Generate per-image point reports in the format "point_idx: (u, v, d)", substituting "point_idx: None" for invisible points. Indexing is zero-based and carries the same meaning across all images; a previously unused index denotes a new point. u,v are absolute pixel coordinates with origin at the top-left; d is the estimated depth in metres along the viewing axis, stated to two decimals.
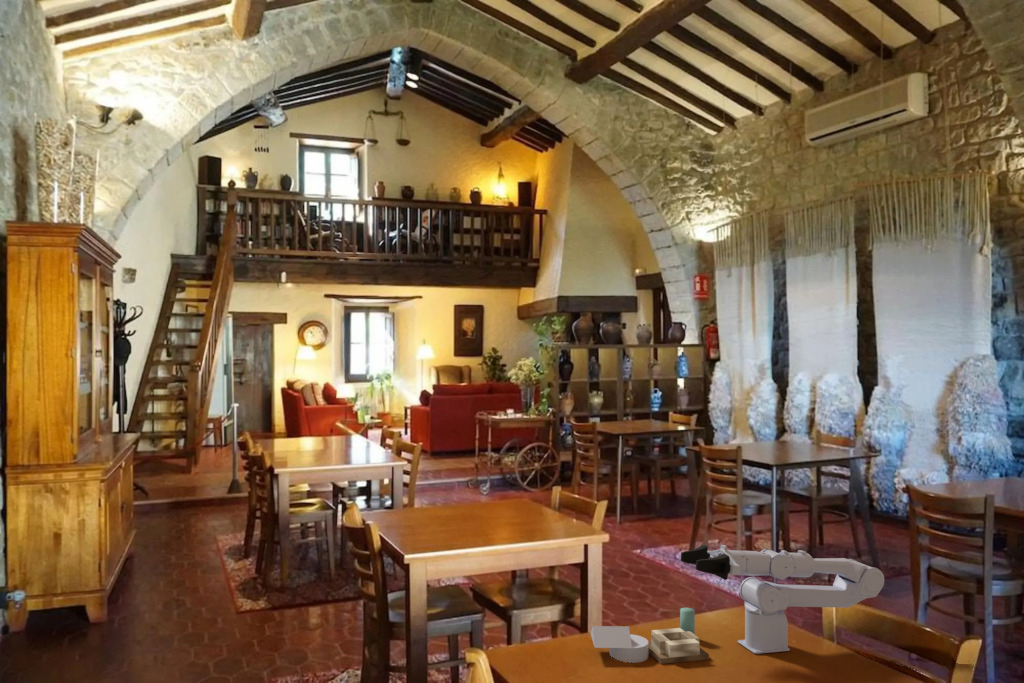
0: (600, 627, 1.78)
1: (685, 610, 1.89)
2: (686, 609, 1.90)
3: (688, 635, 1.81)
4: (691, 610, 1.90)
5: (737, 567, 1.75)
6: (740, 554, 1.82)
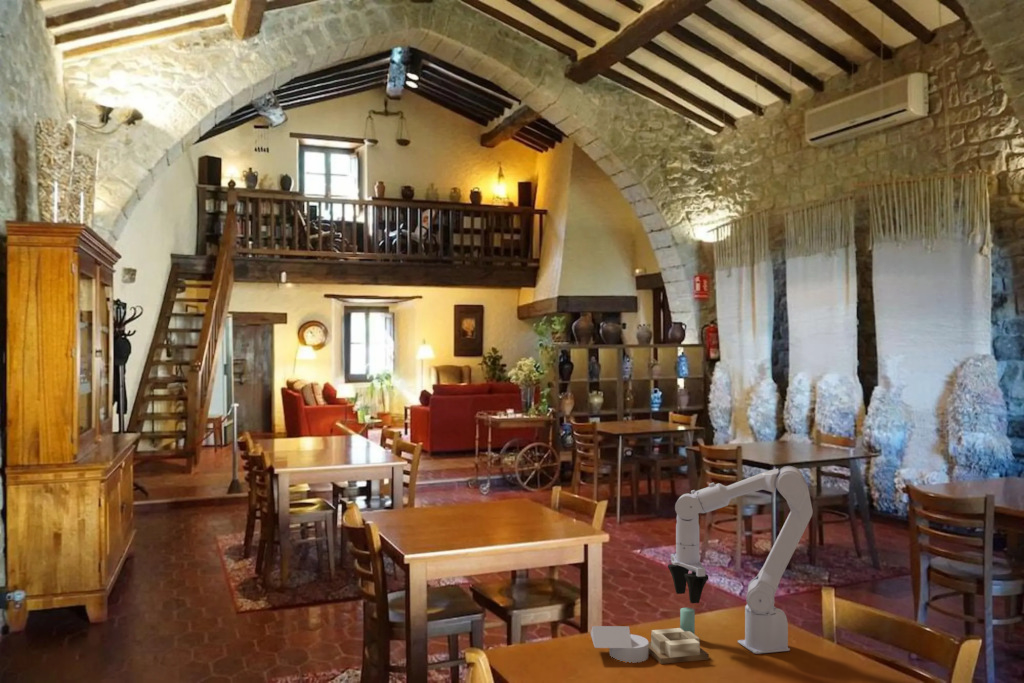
0: (600, 627, 1.78)
1: (685, 610, 1.89)
2: (686, 609, 1.90)
3: (688, 635, 1.81)
4: (691, 610, 1.90)
5: (699, 571, 1.83)
6: (681, 549, 1.88)
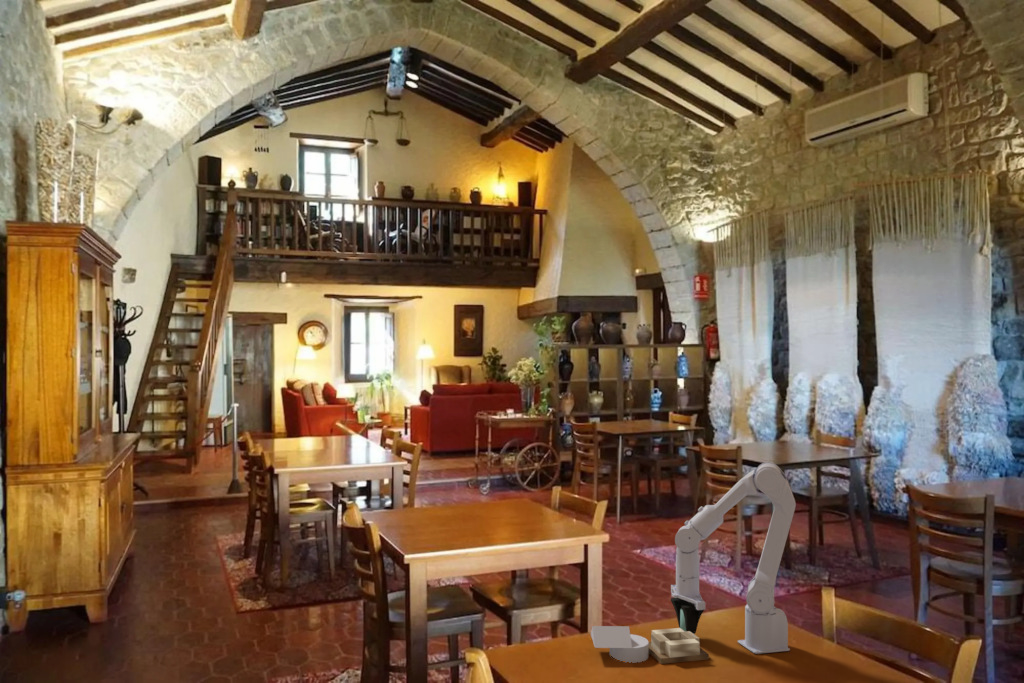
0: (600, 627, 1.78)
1: None
2: None
3: (688, 635, 1.81)
4: None
5: (699, 605, 1.83)
6: (681, 581, 1.88)
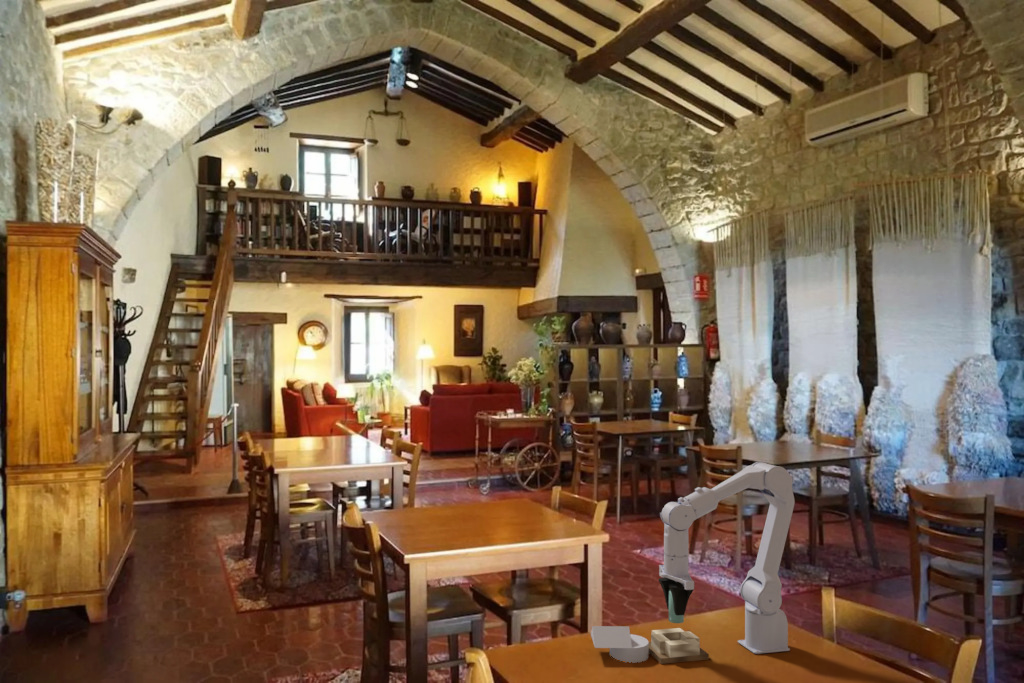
0: (600, 627, 1.78)
1: None
2: None
3: (688, 635, 1.81)
4: None
5: (687, 584, 1.74)
6: (669, 560, 1.79)
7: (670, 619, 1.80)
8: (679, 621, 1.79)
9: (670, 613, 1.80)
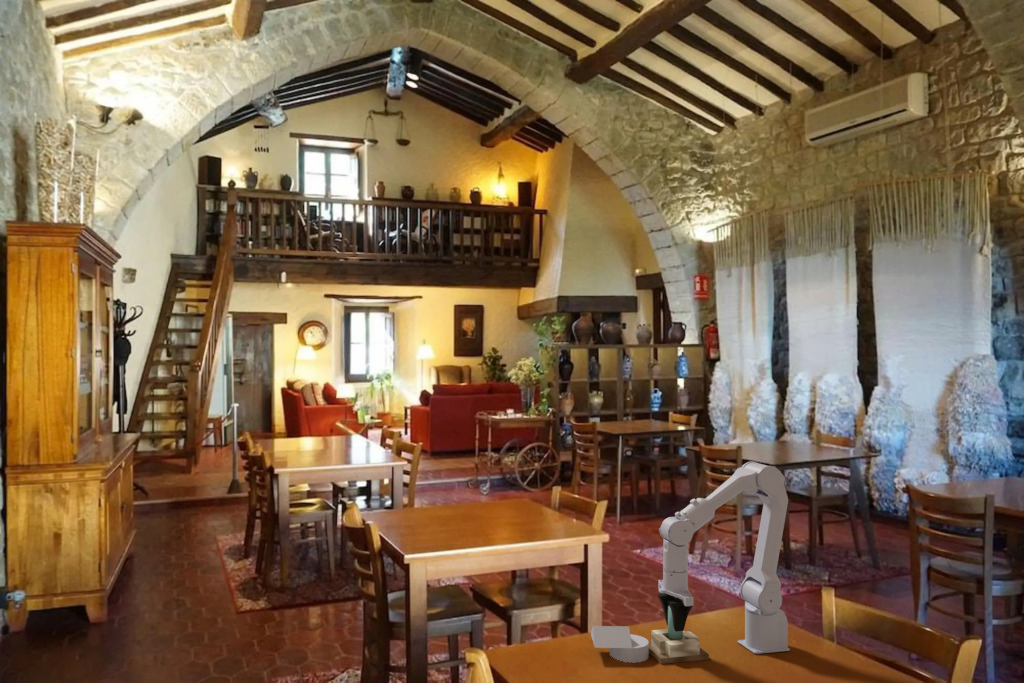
0: (600, 627, 1.78)
1: None
2: None
3: (688, 635, 1.81)
4: None
5: (687, 601, 1.73)
6: (669, 576, 1.78)
7: (669, 635, 1.79)
8: (678, 637, 1.78)
9: (669, 629, 1.79)
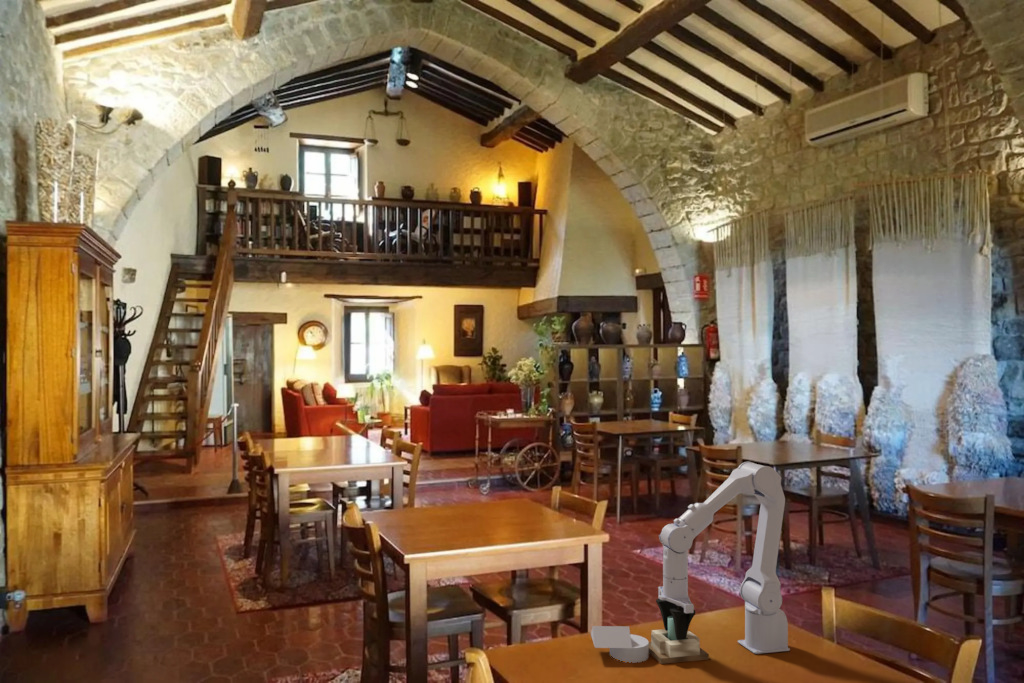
0: (600, 627, 1.78)
1: None
2: None
3: (688, 635, 1.81)
4: None
5: (687, 608, 1.73)
6: (669, 583, 1.78)
7: None
8: None
9: None
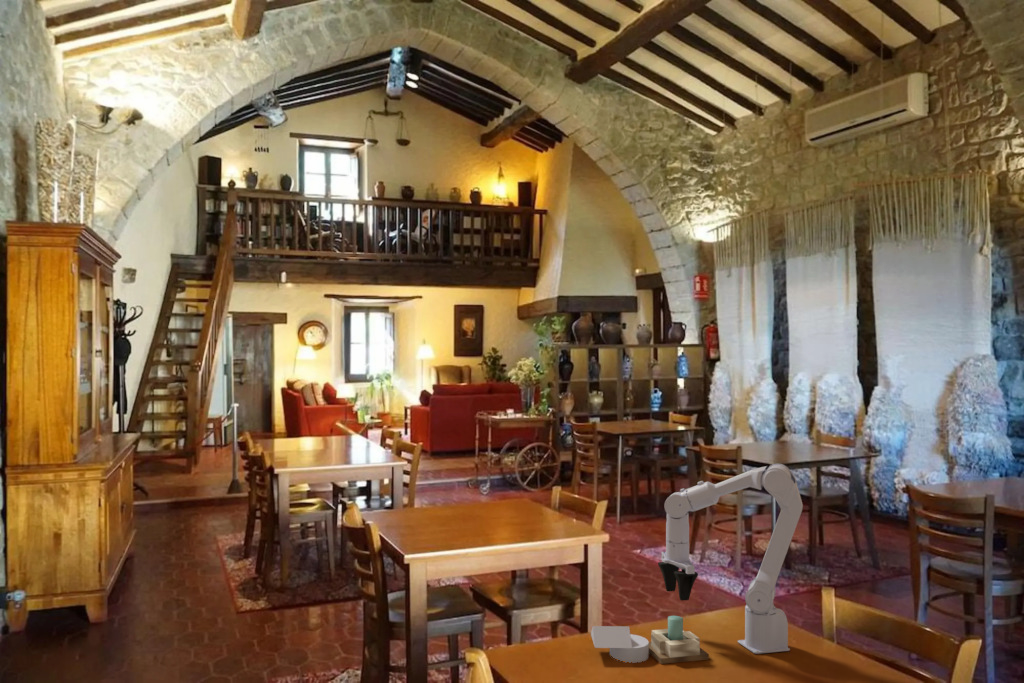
0: (600, 627, 1.78)
1: (673, 619, 1.79)
2: (674, 618, 1.80)
3: (688, 635, 1.81)
4: (679, 618, 1.80)
5: (688, 569, 1.85)
6: (671, 547, 1.90)
7: None
8: None
9: None
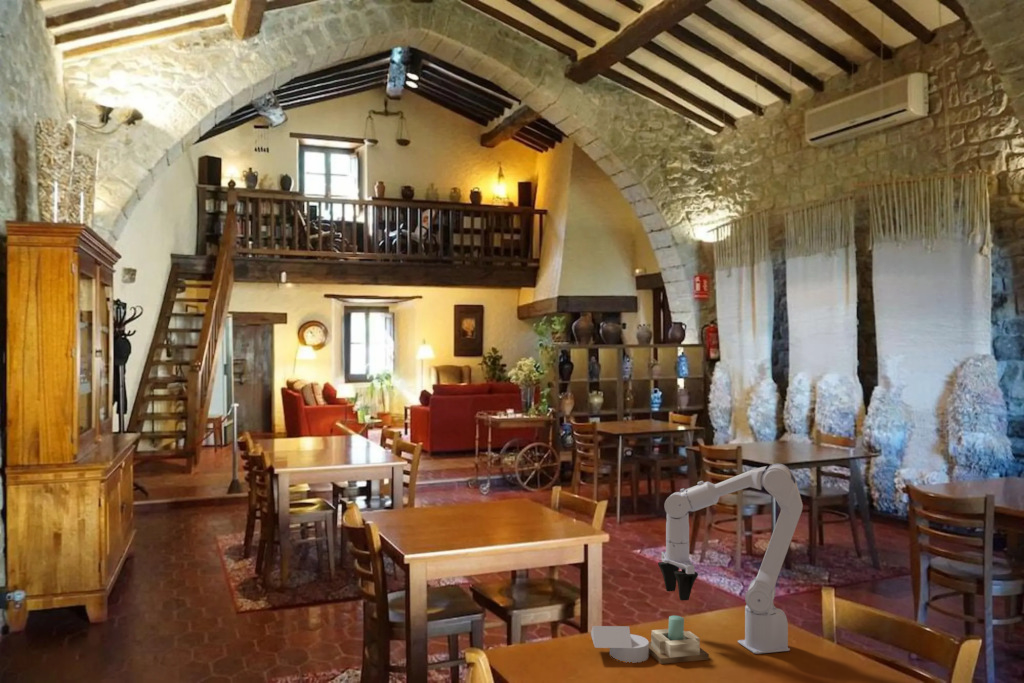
0: (600, 627, 1.78)
1: (674, 618, 1.79)
2: (675, 618, 1.80)
3: (688, 635, 1.81)
4: (680, 618, 1.80)
5: (688, 569, 1.85)
6: (671, 547, 1.90)
7: None
8: None
9: None
